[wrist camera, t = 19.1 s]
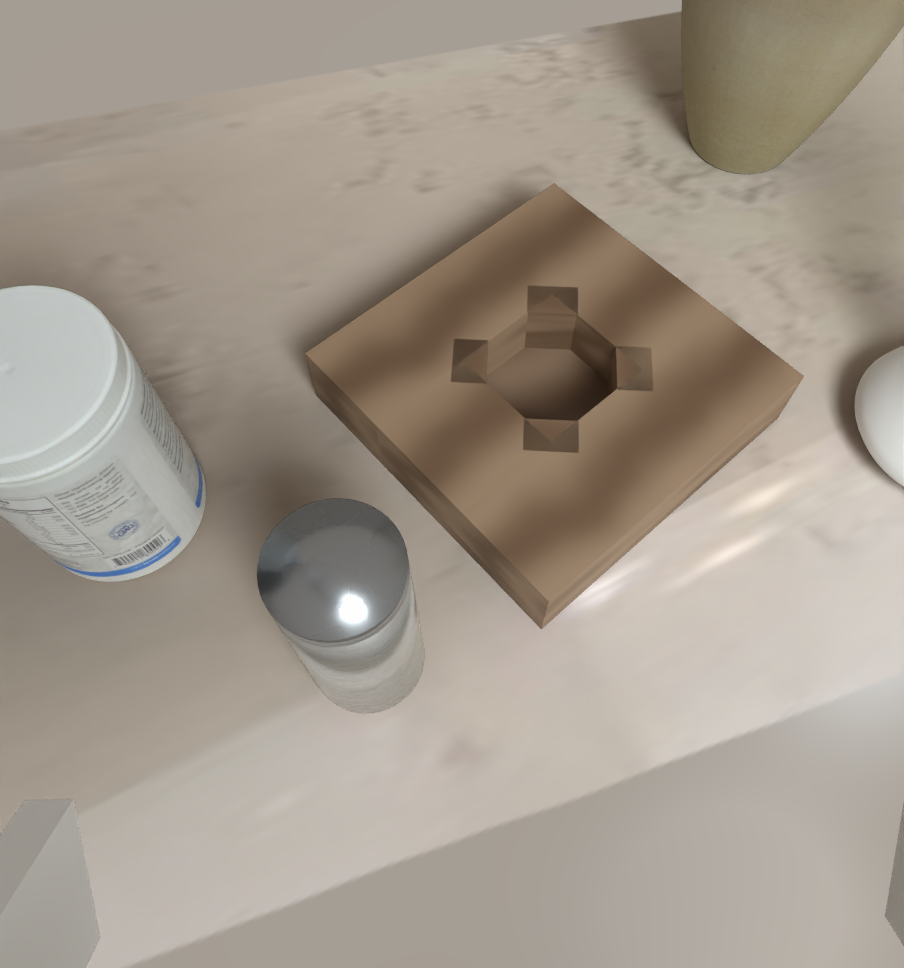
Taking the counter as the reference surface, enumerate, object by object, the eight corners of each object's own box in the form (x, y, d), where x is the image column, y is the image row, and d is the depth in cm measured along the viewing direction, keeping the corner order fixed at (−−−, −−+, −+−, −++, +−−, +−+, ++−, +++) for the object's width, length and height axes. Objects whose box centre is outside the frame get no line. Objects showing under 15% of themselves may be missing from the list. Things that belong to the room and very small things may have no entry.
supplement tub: (93, 423, 52) (-32, 257, 39) (236, 459, 51) (158, 301, 38) (14, 565, 48) (-155, 433, 35) (168, 609, 47) (54, 488, 34)
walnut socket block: (317, 396, 53) (305, 353, 49) (547, 233, 59) (554, 183, 55) (541, 628, 46) (548, 601, 42) (777, 418, 52) (804, 376, 48)
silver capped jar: (294, 635, 46) (233, 540, 34) (392, 583, 47) (366, 474, 36) (342, 734, 43) (295, 668, 32) (444, 677, 45) (435, 593, 33)
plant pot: (692, 236, 58) (766, 18, 44) (608, 96, 65) (649, -133, 51) (884, 186, 60) (1014, -39, 46) (784, 55, 67) (871, -178, 53)
